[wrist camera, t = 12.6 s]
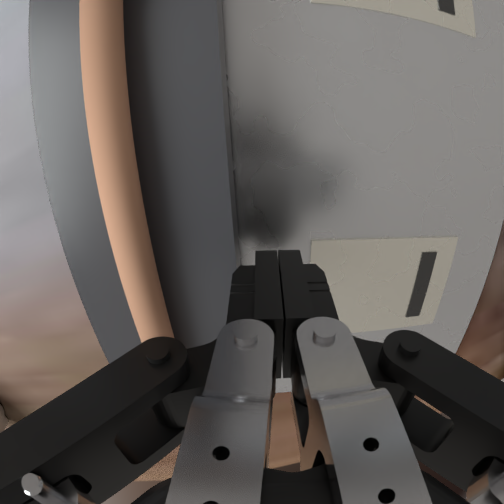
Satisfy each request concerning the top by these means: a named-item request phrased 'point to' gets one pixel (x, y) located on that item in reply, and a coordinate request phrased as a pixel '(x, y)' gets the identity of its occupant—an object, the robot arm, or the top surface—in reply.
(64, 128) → the cable arm
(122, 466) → the robot arm
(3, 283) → the top surface
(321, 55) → the panel
